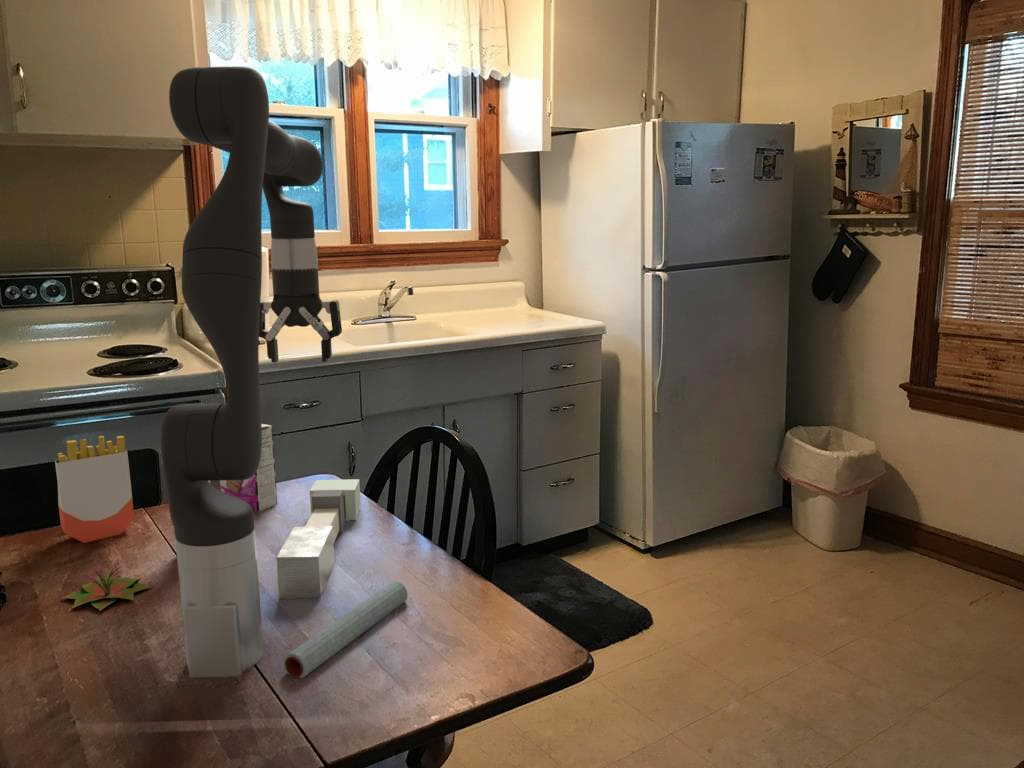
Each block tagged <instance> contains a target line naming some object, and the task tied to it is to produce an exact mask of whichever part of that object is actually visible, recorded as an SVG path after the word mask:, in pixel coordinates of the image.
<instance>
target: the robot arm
mask: <svg viewBox="0 0 1024 768" xmlns="http://www.w3.org/2000/svg"><path fill="white" fill-rule="evenodd" d="M168 94H169V95H168V98H169V99H168V101H169V103H168V104H169V109H170V114H171V116H172V120H173V123H174V125H175V127H176V129H177V130H178V132H180V134H181V135H182V136H183V137H184V138H185V139H186V140H189V141H190V142H193V143H195V144H200V145H205V146H209V147H213V148H215V149H219V150H221V151H222V152H227V153H229V156H228V161H227V165H226V168H225V171H224V173H223V174H222V175H223V176H222V178H221V179H220V181H219V183H218V185H217V187H216V188H215V189H214V191H213V193H212V194H211V196H209V198H208V200H207V201H206V202H205V204H203V206H202V208H201V209H200V210H199V211H198V213H197V215H196V216H195V218H194V220H193V221H192V222H191V224H190V226H189V228H188V230H187V232H186V234H185V237H184V240H183V245H182V261H181V264H182V266H181V294H182V298H183V300H184V303H185V305H186V307H187V309H188V311H189V313H190V315H191V317H192V318H193V319H194V321H195V322H196V324H197V326H198V328H200V330H201V331H202V333H203V336H205V338H206V339H207V340H208V342H209V344H210V346H211V347H212V349H213V351H214V352H215V355H216V357H217V359H218V360H219V363H220V366H221V367H222V371H223V375H224V380H225V385H226V392H227V393H226V395H227V399H226V400H227V401H226V403H225V402H224V403H222V402H221V403H181V404H176V405H173V406H171V407H170V408H169V409H168V410H167V412H166V413H165V415H164V417H163V421H162V423H161V429H160V453H161V461H162V468H163V475H164V480H165V486H166V492H167V500H168V509H169V514H170V518H171V521H172V522H171V523H172V525H173V529H174V542H175V541H176V547H175V550H176V559H177V560H176V561H177V563H176V564H177V573H178V583H179V584H178V585H179V592H180V593H179V595H180V607H181V614H182V615H181V617H182V625H183V626H182V627H183V636H184V647H185V656H186V657H185V658H186V666H187V669H188V677H189V678H219V677H220V678H222V677H223V678H224V677H227V678H228V677H229V678H230V677H240V676H242V674H243V673H244V672H245V671H247V670H248V669H250V668H251V667H254V666H255V665H256V664H257V663H258V662H259V661H260V660H261V659H262V658H263V655H264V651H265V649H264V638H263V625H262V624H263V623H262V614H261V611H262V610H261V600H260V599H261V597H260V596H261V595H260V585H259V584H260V583H259V571H258V558H257V557H258V556H257V542H256V529H255V527H256V525H255V514H254V510H253V509H252V507H251V506H250V505H249V504H248V503H247V502H245V501H243V500H241V499H238V498H235V497H232V496H230V495H227V494H225V493H223V492H221V491H220V489H217V488H216V487H215V486H214V485H212V484H211V481H212V482H213V481H215V482H216V481H217V482H219V481H222V480H245V479H249V478H251V477H253V476H254V474H255V473H256V471H257V469H258V467H259V463H260V458H261V449H262V424H263V423H262V407H261V406H262V405H261V387H260V386H261V385H260V384H261V383H260V363H259V360H260V359H259V355H260V354H259V346H260V345H259V344H260V343H259V341H260V338H261V339H264V340H265V342H266V351H267V352H266V354H267V355H266V356H267V358H268V360H270V361H271V363H277V362H279V347H278V339H277V338H276V337H277V336H278V334H279V333H280V332H281V330H282V329H283V328H284V327H285V326H286V327H287V328H292V327H297V326H298V327H305V328H306V327H308V326H310V327H312V328H313V330H314V331H315V332H317V334H319V336H320V337H321V340H320V344H321V345H320V346H321V349H320V350H321V360H322V361H321V362H323V363H327V362H328V361H329V359H330V358H332V356H333V351H332V350H333V348H332V339H334V338H336V337H339V336H340V335H341V334H342V332H343V328H342V327H343V326H342V319H341V317H342V316H341V309H340V302H339V300H338V299H333V300H329V301H322V299H321V297H320V281H319V280H320V279H319V258H318V250H317V244H316V239H315V238H316V237H315V236H316V235H315V222H314V221H315V217H314V210H313V206H312V205H311V204H309V203H307V202H304V201H300V200H294V199H291V198H289V197H287V195H286V194H285V193H284V191H283V187H289V188H290V187H294V188H295V187H310V186H313V185H315V184H316V183H317V182H318V181H319V180H320V179H321V177H322V175H323V171H324V163H323V158H322V155H321V153H320V151H319V149H318V148H317V146H316V145H315V144H314V143H312V142H311V141H309V140H307V139H305V138H303V137H300V136H297V135H294V134H289V133H287V132H286V131H285V130H284V129H283V128H282V127H281V126H280V125H278V124H277V123H275V122H274V121H272V120H271V119H270V103H269V102H270V101H269V95H268V88H267V84H266V82H265V79H264V77H263V76H262V74H261V73H260V71H258V70H257V69H255V68H253V67H251V66H202V67H201V66H199V67H198V66H197V67H190V68H188V67H187V68H184V69H183V70H182V69H181V70H180V71H178V72H177V73H176V74H175V75H174V76H173V77H172V79H171V82H170V85H169V91H168ZM263 194H264V196H265V197H264V198H265V201H266V205H267V208H268V214H269V223H270V224H269V225H270V237H271V239H270V240H271V241H270V243H271V246H270V263H271V266H270V267H271V277H272V278H271V279H272V281H271V282H272V294H273V297H272V301H271V302H270V301H264V300H262V299H261V294H262V282H263V281H262V277H263V276H262V275H263V274H262V273H263V249H262V247H263V245H262V238H263V237H262V224H263V223H262V217H263V216H262V211H263V209H262V207H263V202H262V201H263ZM270 309H271V310H272V312H274V314H275V315H276V317H277V318H276V320H275V321H274V323H273V324H272V325H271V328H270V329H269V330H266V315H267V314H268V313H269V312H270ZM322 309H325V311H326V314H330V320H331V329H330V330H329V328H328V327H327V326H326V325H325V323H324V321H323V320H322V319H321V318H320V317H319V314H320V313H321V312H322ZM208 481H210V483H209V482H208Z"/></svg>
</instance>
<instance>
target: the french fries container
mask: <svg viewBox="0 0 1024 768" xmlns="http://www.w3.org/2000/svg"><path fill="white" fill-rule="evenodd" d="M115 440H116V445H114V444H113V440H108V441H106V447H105V436H104V435H99V436H98V445H96V446H95V447H96V452H95V447H94V446H93V445H87V439H84V438H83V439H82V438H81V439H80V445H79V447H77V445H78V444H77V441H76V440H75V439H73V440H66V449H67V450H66V452H67V456H66V455H65V454H63V452H59V453H57V457H58V462H57V461H56V460H54V464H55V473H56V480H57V481H56V482H57V500H58V501H57V504H58V512H59V513H58V514H59V520H60V522H59V523H60V527H61V529H62V530H63V532H64V534H66V535H67V536H69V537H71V538H73V539H75V540H77V541H79V542H81V543H83V544H85V543H88V542H93V541H98V540H100V539H101V540H102V539H106V538H109V537H114V536H115V537H116V536H120V535H122V534H123V533H124V531H125V530H126V529H127V528H128V527H129V526H130V525H131V524H132V523H133V521H134V520H135V514H134V512H135V511H134V504H133V503H134V501H133V494H132V493H133V492H132V482H131V475H130V463H129V456H128V450H127V449H126V447H125V436H123V435H119V436H116V439H115Z"/></svg>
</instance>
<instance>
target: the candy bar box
mask: <svg viewBox="0 0 1024 768" xmlns="http://www.w3.org/2000/svg"><path fill="white" fill-rule="evenodd" d="M273 436H274V435H273V425H270V424H265V423H262V449H261V458H260V463H259V467H258V469H257V471H256V473H255V474H254V476H253V477H251V478H249V479H245V480H222V481H218V484H219V485H218V486H219V491H221V492H223V493H225V494H227V495H230V496H232V497H235V498H238V499H241V500H243V501H245V502H247V503H248V504H249V505H250V506H251V507H252V509H253V512H254V511H255V512H262V511H264V510H267V509H269V508H271V506H272V507H274V506H276V504H277V505H278V493H277V490H278V489H277V480H276V465H275V464H276V463H275V461H276V460H275V450H274V448H275V447H274V437H273ZM266 508H267V509H266Z"/></svg>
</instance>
